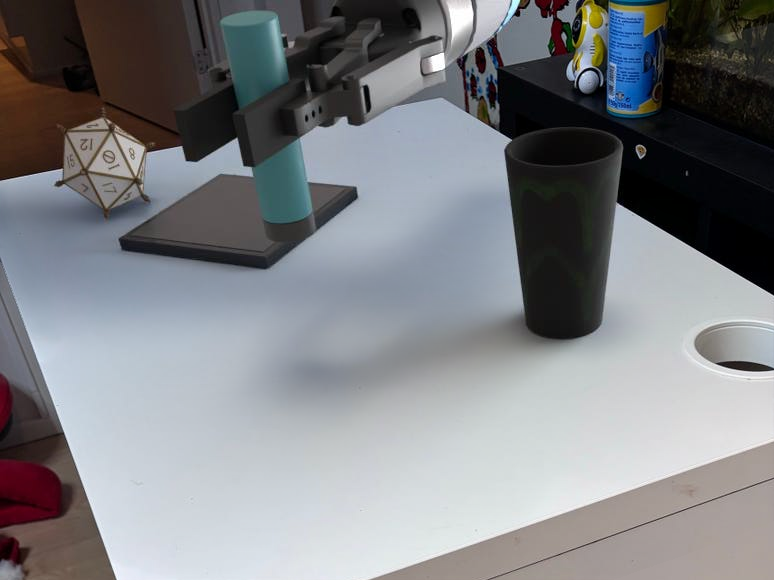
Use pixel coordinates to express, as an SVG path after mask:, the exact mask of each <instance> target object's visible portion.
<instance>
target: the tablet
mask: <svg viewBox="0 0 774 580" xmlns="http://www.w3.org/2000/svg"><path fill="white" fill-rule="evenodd" d="M308 187H309V192H310V198H311V203H312V209H313V214H314V220H315V226H316V231H318V230H319V229H320V228H321V227H322V226H324V225H325V224H326V223H328V222H329V221H330V220H331V219H333V218H334V217H335V216H337V215H338V214H339V213H340V212H342V211H343V210H344V209H346V207H348V206H349V205H350V204H352V203H353V202H354V201H355V200H357V199H358V198H359V195H358V194H359V193H358V188H357V186H353V185H344V184H343V185H342V184H333V183H322V182H313V181H308ZM117 239H118V243H119V246H120V249H121V250H123V251H129V252H137V253H138V252H139V253H145V254H154V255H160V256H168V257H176V258H184V259H191V260H198V261H199V260H200V261H208V262H213V263H214V262H215V263H222V264H231V265H237V266H245V267H253V268H261V269H270V268H271V266H273V265H275V263H277V262H279V260H281V259H282V258H283V257H284V256H285V255H287V254H288V253H290V252H291V251H292V250H294V248H296V247H297V246H298V245H300V244H301V243H302V242H304V241H305V239H303V240H300V241H296V242H288V243H280V242H274V241H271V240H269V239H268V238H267V237H266V233H265V229H264V224H263V219H262V215H261V210H260V205H259V201H258V196H257V192H256V187H255V182H254V178H253V176H249V175H239V174H230V173H219V174H218V175H216V176H214V177H213V178H211V179H209V180H208V181H206V182H205V183H204V184H201V185H200V186H199V187H197V188H196V189H194V190H192V191H191V192H189V193H187V194H186V195H184V196H183V197H181V198H179V199H178V200H177V201H175V202H173V203H171V204H170V205H169V206H167V207H166V208H164V209H162V210H161V211H159V212H158V213H156V214H155V215H153V216H152V217H150V218H148V219H147V220H145V221H144V222H142V223H140V224H139V225H137V226H136V227H134V228H133V229H131V230H130V231H128V232H126V233H125V234H123V235H121V236H119V237H118V238H117Z"/></svg>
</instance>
